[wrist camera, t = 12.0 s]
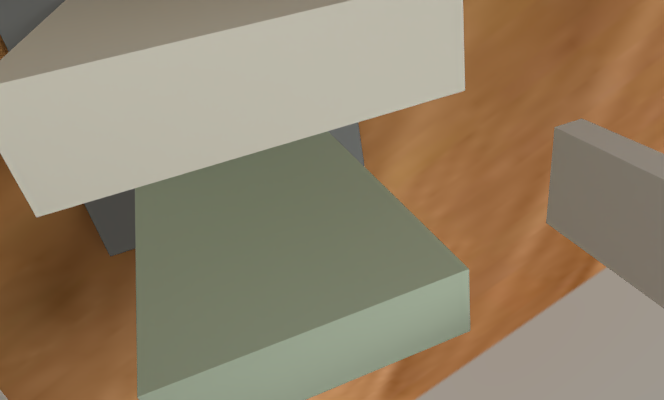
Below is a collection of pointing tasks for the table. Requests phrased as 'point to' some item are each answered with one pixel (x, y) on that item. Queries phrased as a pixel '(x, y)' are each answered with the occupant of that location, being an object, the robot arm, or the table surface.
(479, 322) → the table surface
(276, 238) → the sage domino
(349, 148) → the mat
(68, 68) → the domino
